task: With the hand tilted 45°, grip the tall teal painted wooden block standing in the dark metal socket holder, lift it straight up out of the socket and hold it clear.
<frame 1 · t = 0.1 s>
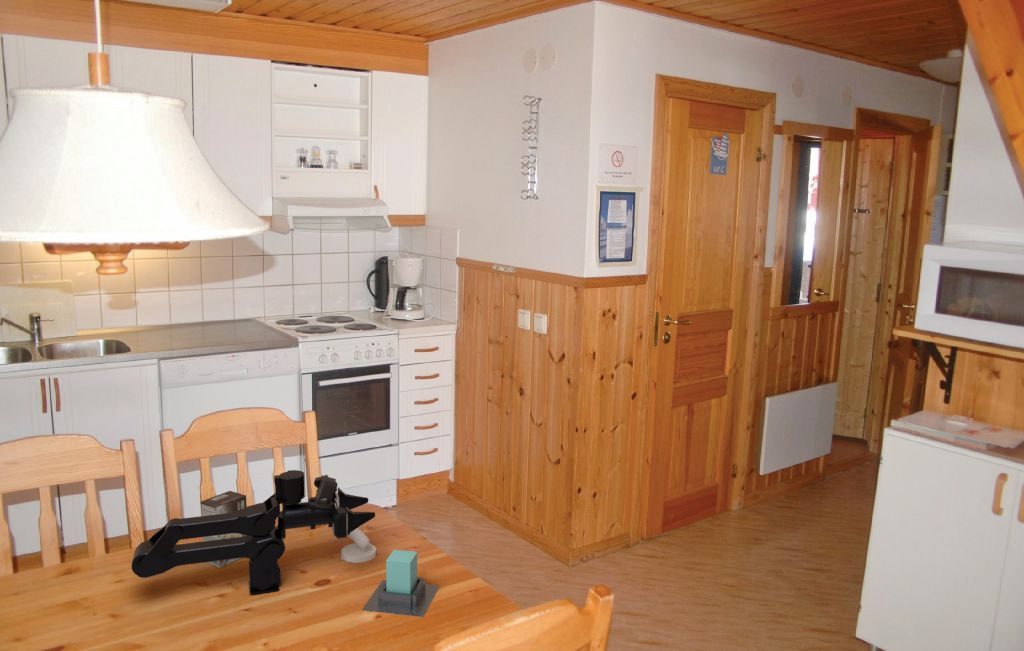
hand: (371, 507, 190), 17 cm above the table, tool horizontal, fingers open, 9 cm apart
coffee box: (226, 559, 198), on the table
wall hook: (357, 559, 200), on the table
teal block: (402, 597, 178), point 1 cm above the table, touching socket holder
socket holder: (402, 602, 179), on the table
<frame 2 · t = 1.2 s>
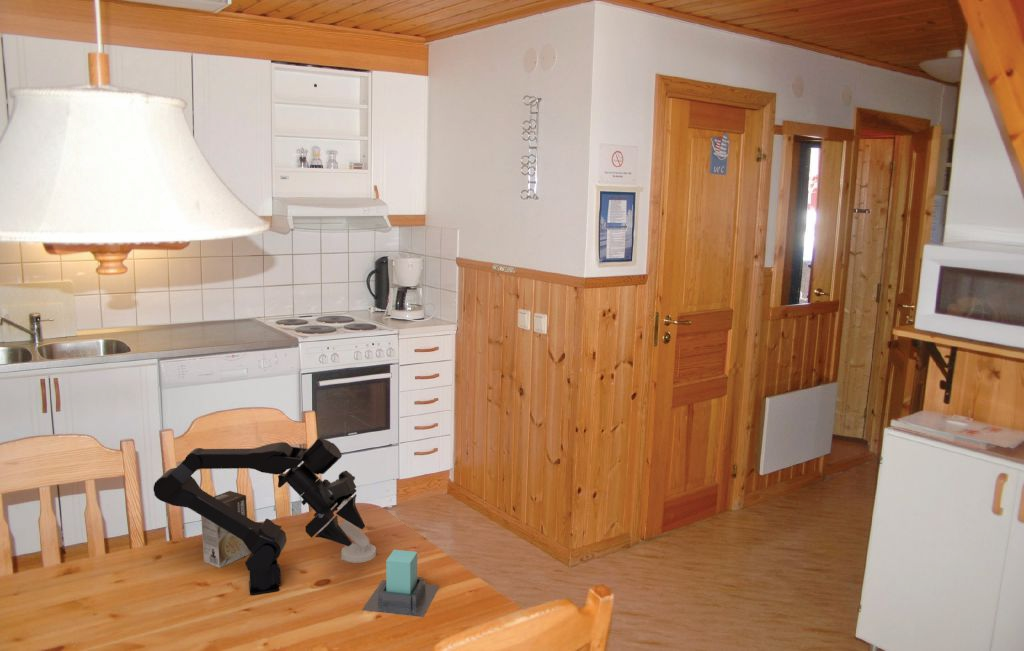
hand: (357, 536, 181), 14 cm above the table, tool tilted 45°, fingers open, 9 cm apart
nothing on the table moved.
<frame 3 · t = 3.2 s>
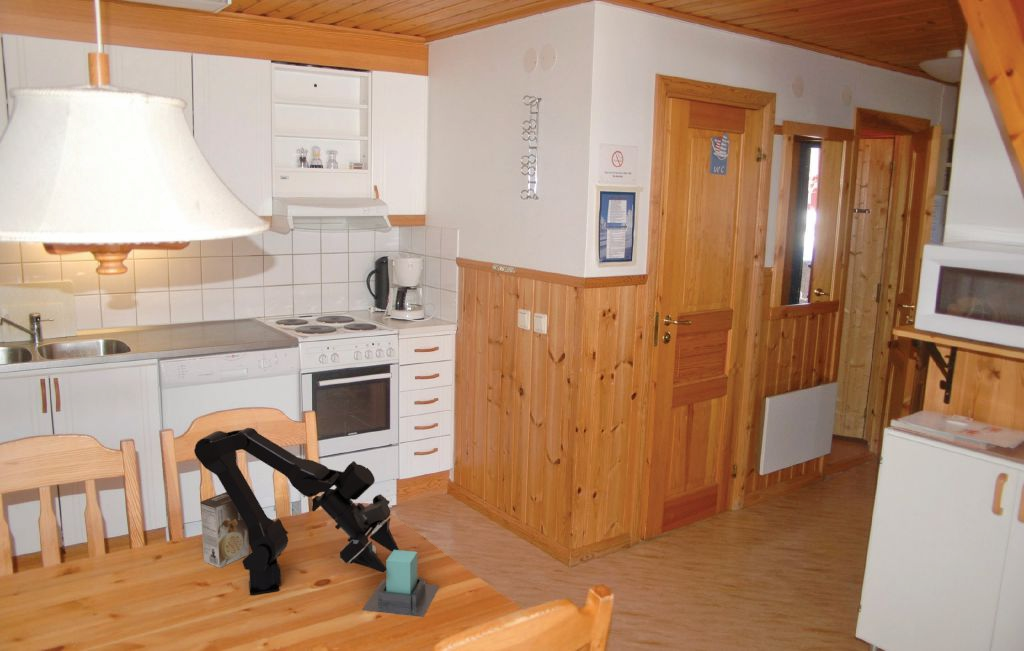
hand: (391, 561, 177), 10 cm above the table, tool tilted 45°, fingers open, 9 cm apart
nothing on the table moved.
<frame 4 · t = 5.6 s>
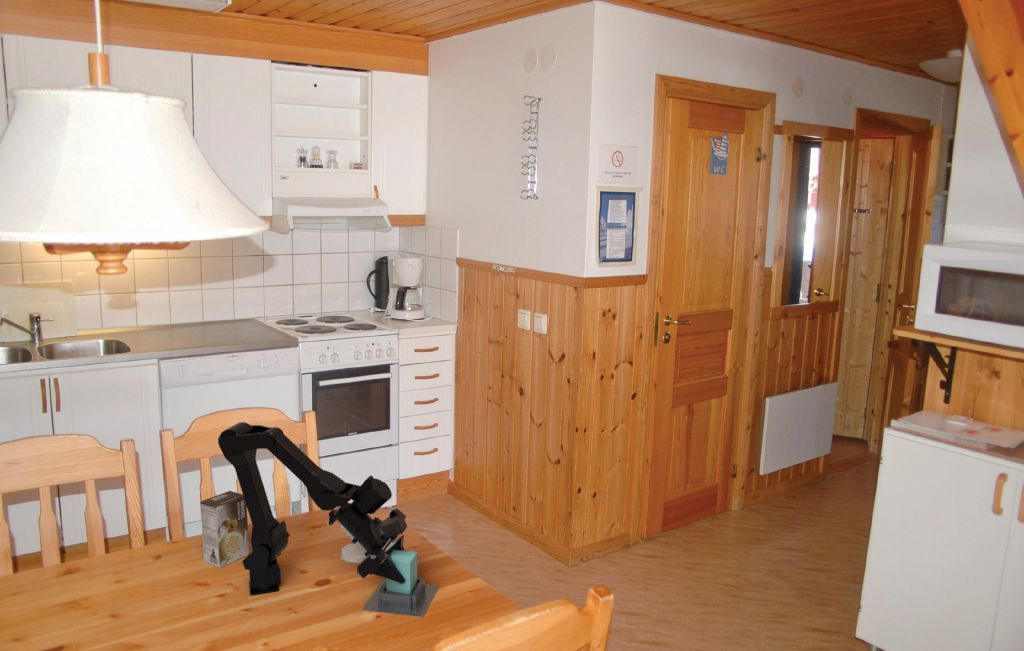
hand: (407, 576, 177), 7 cm above the table, tool tilted 45°, fingers closed on teal block, 5 cm apart
teal block: (402, 597, 178), point 1 cm above the table, touching gripper, socket holder
everything else where it was.
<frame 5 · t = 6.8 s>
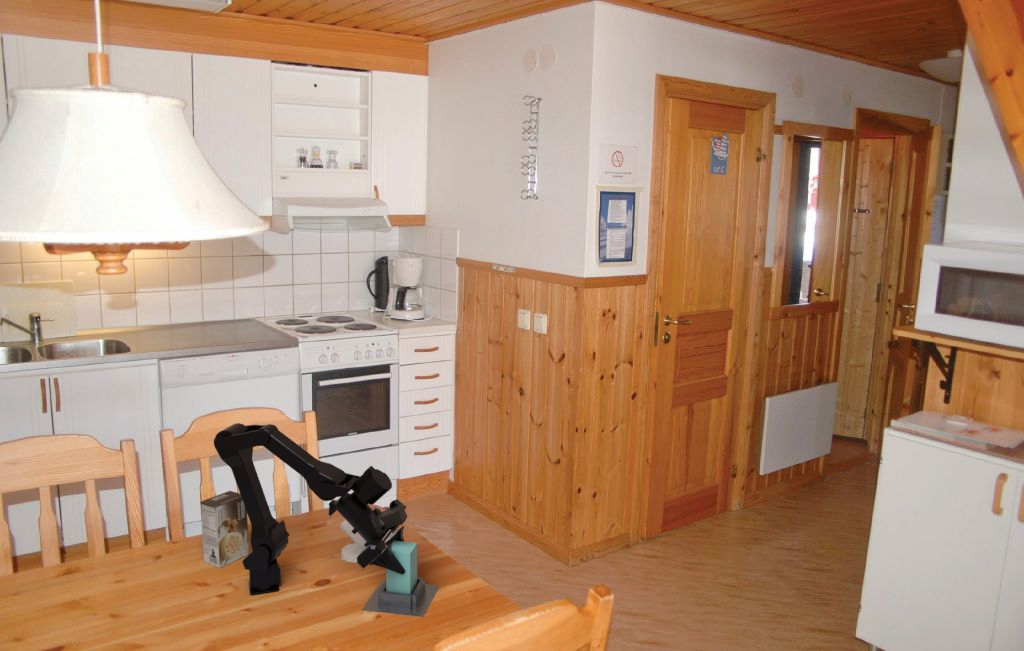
hand: (407, 566, 177), 9 cm above the table, tool tilted 45°, fingers closed on teal block, 5 cm apart
teal block: (401, 588, 178), point 3 cm above the table, touching gripper
everything else where it was.
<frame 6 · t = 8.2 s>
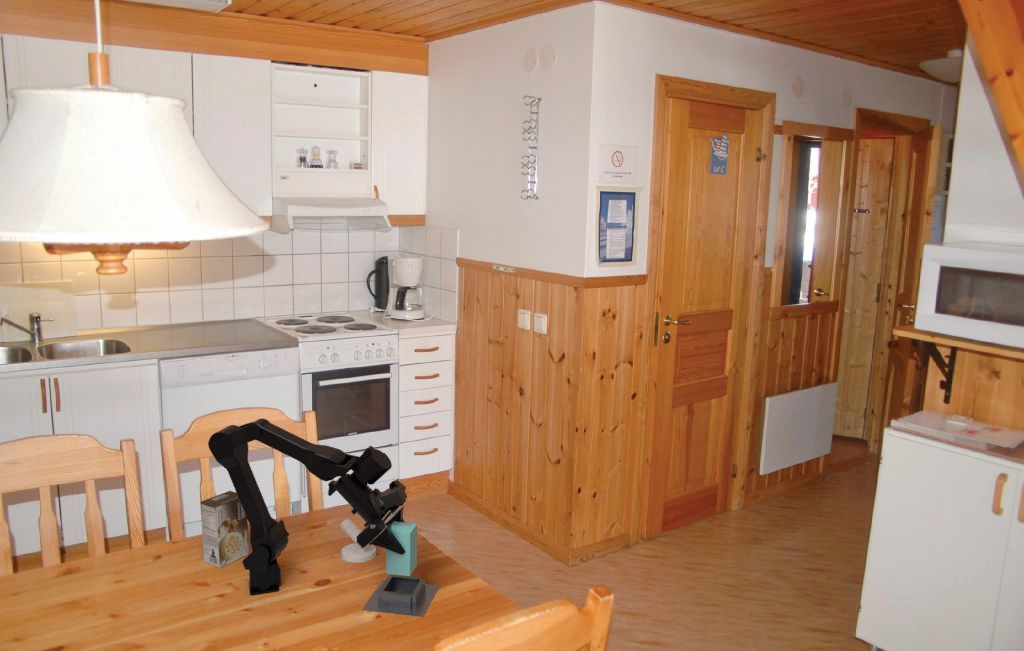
hand: (407, 547, 176), 13 cm above the table, tool tilted 45°, fingers closed on teal block, 5 cm apart
teal block: (401, 569, 177), point 8 cm above the table, touching gripper
everything else where it was.
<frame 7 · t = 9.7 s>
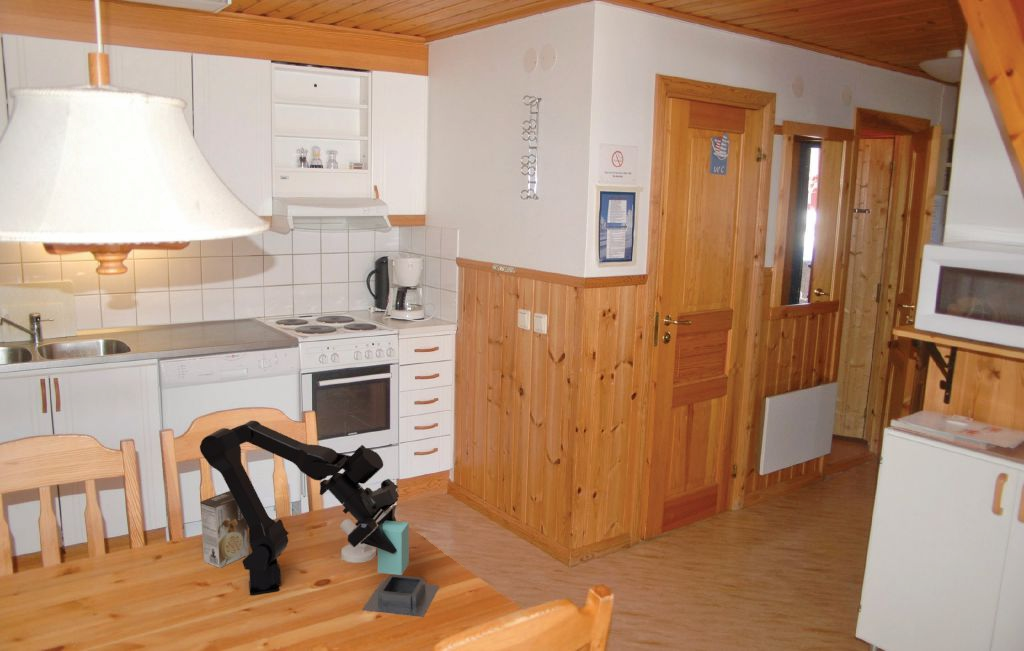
hand: (399, 546, 177), 13 cm above the table, tool tilted 45°, fingers closed on teal block, 5 cm apart
teal block: (393, 568, 178), point 8 cm above the table, touching gripper
everything else where it was.
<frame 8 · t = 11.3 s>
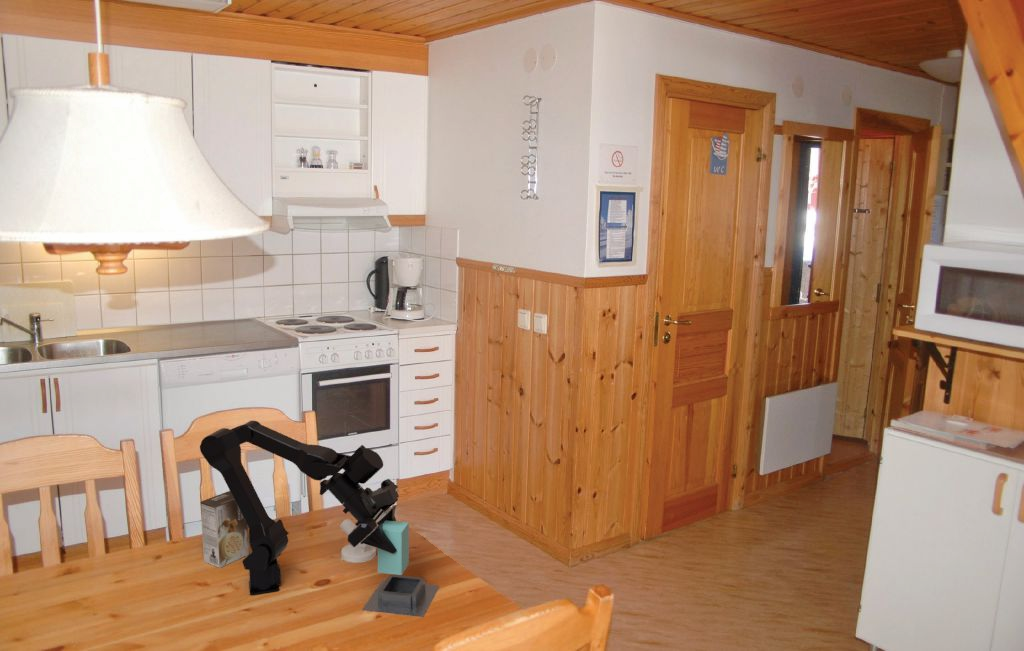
hand: (399, 546, 177), 13 cm above the table, tool tilted 45°, fingers closed on teal block, 5 cm apart
teal block: (393, 568, 178), point 8 cm above the table, touching gripper
everything else where it was.
at the end: teal block point 8.1 cm above the table; teal block touching gripper; the gripper is holding teal block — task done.
